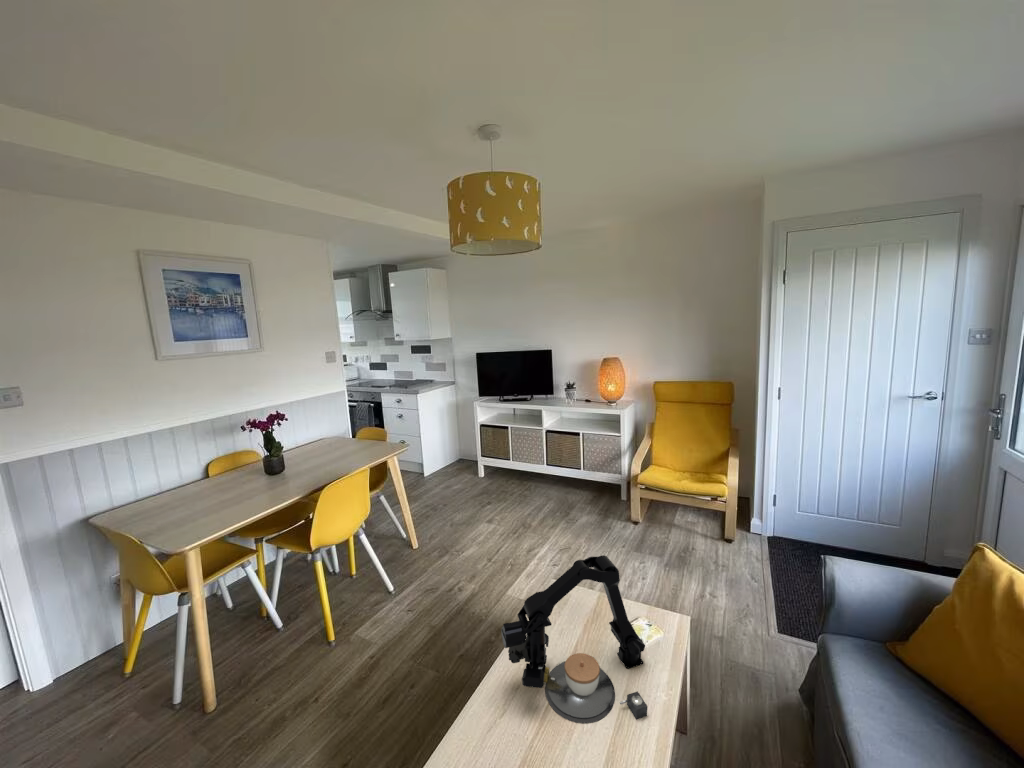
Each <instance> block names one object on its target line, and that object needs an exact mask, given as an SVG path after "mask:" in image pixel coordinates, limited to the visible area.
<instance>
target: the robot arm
mask: <svg viewBox="0 0 1024 768" xmlns="http://www.w3.org/2000/svg"><path fill="white" fill-rule="evenodd" d="M585 580H589V581H593V582H597V583H601V584H602V586H603V588H604V592H605V595H606V597H607V601H608V604H609V608H610V611H611V613H612V616H613V618H612V621H609V622H608V624H609V626H610V631H611V632H612V635H613V636H614V638H615V639H616V640H617V642H618V643H619V647H618V652H616V653H617V654H616V655H617V656H618V657H617V658H618V659H619V660H620V662H621V663H622V664H623V666H624V668H625V669H627V670H629V669H632V668H635V667H638V666H641V665H644V663H645V662H644V661H643V659H642V652H644V650H645V647H646V645H645V643H644V641H643V640H642V639H641V637H639V635H638V633H637V632H636V629H635V628H634V626H633V625H632V624H631V622H630V620H629V617H628V615H627V612H626V609H625V608H626V607H625V605H624V602H623V598H622V594H621V592H620V588H619V583H620V580H621V579H620V572H619V569H618V568H617V566H616V565H615V564H614V563H613V562H612V561H611V559H610V558H609V557H608V556H607V555H600V556H599V555H598V556H589V557H587V558H585V559H579V560H578V559H577V560H575V561H574V562H573V564H572V566H570V568H569V569H567V570H566V571H565V572H564V573H563V574H562V575H561V576H559V577H558V578H557V579H556V580H555V581H554V582H552V584H550V585H549V586H548V587H547V588H545V589H544V590H542V591H537V592H535V593H533V594H532V595H530V596H529V597H527V598H526V599H525V600H524V602H523V605H522V607H521V609H520V610H519V612H518V613H517V618H518V621H513V622H505V623H503V626H502V627H501V629H500V630H501V632H500V633H501V639H502V644H503V647H504V649H508V651H507V652H508V660H509V661H510V662H511V663H512V664H517V663H520V662H521V660H524V662H525V663H526V665H525V668H524V669H523V671H522V672H523V673H522V678H521V682H522V686H523V687H528V688H536V689H542V688H544V686H545V682H544V673H545V668H546V667H547V666H546V664H547V657H548V655H547V648H549V641H550V640H549V638H550V637H549V635H548V634H547V633H546V628H547V627H550V626H552V622H551V620H550V618H549V617H550V616H551V614H552V612H553V610H554V607H555V606H556V605H557V603H559V602H560V601H561V600H562V599H563V598H565V596H567V595H568V594H569V593H570V592H571V591H572V590H573V589H575V587H577V586H578V585H579V584H580V583H581V582H582V581H585Z"/></svg>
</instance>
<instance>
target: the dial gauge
mask: <svg viewBox="0 0 1024 768" xmlns="http://www.w3.org/2000/svg"><path fill="white" fill-rule="evenodd" d="M619 704H620V705H623V704H626V706H627V707H628V709H629V710H630V712H631V714H632V716H633V717H634V718H635V720H636V721H637V720H640V719H643V718H645V717H648V705H647V703H646V702H645V700H644V699H643V697H642V696H641V694H640V693H639V691H635V692H631V693H627V694H626V699H624V700H621V701H620V702H619Z"/></svg>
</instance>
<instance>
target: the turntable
mask: <svg viewBox="0 0 1024 768" xmlns="http://www.w3.org/2000/svg"><path fill="white" fill-rule="evenodd" d="M565 662H566V660H565V661H561V663H559V664H557V665H555V666H554V669H553V668H552V669H553V670H552V669H551V670H552V671H551V670H550V667H548V666H546V668H545V673H544V684H545V683H547V689H548V695H549V697H550V699H551V701H552V703H553V704H554V706H555V707H556V708H557V709H558V710H560V711H561V712H562V713H564V714H566V715H568V716H570V717H573V718H577V719H590V718H594V717H597V716H599V715H601V714H602V713H603V712H605V711H606V710H607V708H608V707H609V705H610V703H611V701H612V693H613V691H612V684H611V682H610V679H611V678H610V676H609V675H608V674H607V673H606V672H605V671H604V669H602V668H601V667H600V673H599V682H598V686H597V688H596V690H595V691H594V692H593V693H592V694H590V695H587V696H580V695H577V694H576V693H574V692H573V691H572V690H571V689H570V687H569V686H568V684H567V681H566V676H565ZM550 672H551V673H550ZM549 673H550V675H549ZM607 675H608V676H609V677H608V676H607ZM609 678H610V679H609Z"/></svg>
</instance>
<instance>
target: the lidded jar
mask: <svg viewBox="0 0 1024 768" xmlns="http://www.w3.org/2000/svg"><path fill="white" fill-rule="evenodd" d="M565 661H566V662H565V676H566V681H567V684H568V686H569V687H570V689H571V690H572V691H573V692H574V693H576V694H577V695H580V696H587V695H590V694H592V693H593V692H594V691H595V690H596V688H597V686H598V682H599V673H600V668H601V666H600V665H599V662H598V661H597V660H596V659H595V658H594V657H593V656H591V655H589V654H587V653H584V652H583V653H582V652H581V653H580V652H578V653H574V654H571V655H570V656H568V657H567V658H566V660H565Z"/></svg>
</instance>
